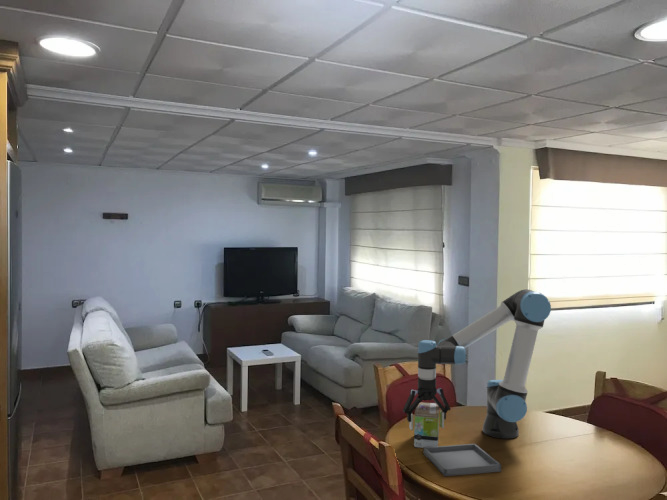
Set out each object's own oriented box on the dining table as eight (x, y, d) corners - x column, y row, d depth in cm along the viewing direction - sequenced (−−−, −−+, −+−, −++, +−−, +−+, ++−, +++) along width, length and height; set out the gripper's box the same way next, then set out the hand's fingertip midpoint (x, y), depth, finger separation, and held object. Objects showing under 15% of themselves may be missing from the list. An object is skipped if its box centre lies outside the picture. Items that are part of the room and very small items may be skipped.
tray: (474, 449, 218) (474, 443, 218) (501, 471, 197) (501, 464, 197) (423, 453, 213) (423, 447, 213) (444, 476, 193) (444, 469, 193)
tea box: (438, 449, 218) (438, 413, 218) (413, 447, 220) (413, 411, 220) (438, 436, 233) (439, 402, 232) (415, 434, 235) (415, 401, 234)
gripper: (451, 374, 232) (450, 423, 232) (395, 376, 227) (395, 427, 227) (458, 378, 225) (458, 429, 225) (401, 381, 220) (401, 433, 220)
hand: (426, 428), depth 226 cm, fingers open, 13 cm apart
